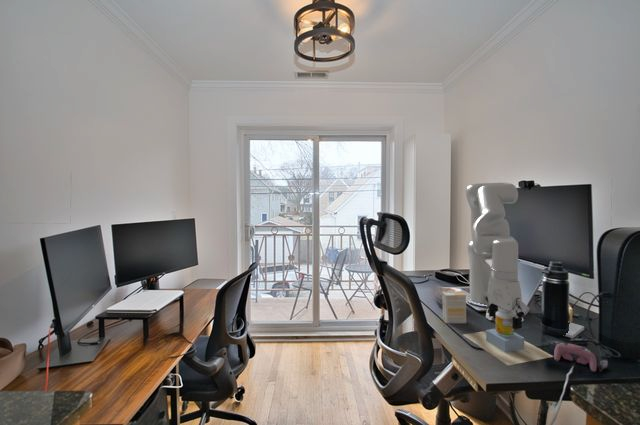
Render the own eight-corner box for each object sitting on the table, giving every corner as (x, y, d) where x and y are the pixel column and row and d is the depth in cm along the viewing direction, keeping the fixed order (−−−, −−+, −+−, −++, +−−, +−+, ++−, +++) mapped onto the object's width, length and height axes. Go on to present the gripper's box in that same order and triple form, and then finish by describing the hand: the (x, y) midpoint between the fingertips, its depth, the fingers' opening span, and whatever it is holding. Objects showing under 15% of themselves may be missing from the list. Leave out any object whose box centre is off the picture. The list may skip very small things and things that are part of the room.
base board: (501, 330, 110) (501, 328, 110) (553, 359, 90) (553, 356, 90) (462, 337, 106) (462, 334, 106) (508, 368, 86) (508, 365, 86)
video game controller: (596, 374, 84) (596, 350, 86) (596, 374, 81) (597, 349, 83) (554, 362, 91) (555, 339, 93) (553, 361, 88) (554, 338, 90)
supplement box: (461, 320, 120) (461, 290, 119) (466, 325, 115) (466, 295, 114) (442, 320, 120) (441, 290, 120) (446, 325, 116) (445, 294, 115)
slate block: (504, 337, 103) (504, 327, 102) (524, 349, 95) (524, 337, 95) (485, 340, 101) (485, 330, 101) (504, 352, 93) (504, 341, 93)
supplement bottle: (493, 329, 101) (493, 303, 101) (510, 330, 99) (511, 304, 99) (497, 336, 96) (497, 309, 96) (515, 338, 94) (516, 310, 94)
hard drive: (558, 319, 116) (545, 326, 109) (584, 326, 109) (572, 335, 102) (558, 322, 116) (545, 331, 109) (584, 330, 109) (572, 339, 102)
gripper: (476, 269, 104) (476, 313, 105) (518, 282, 87) (518, 335, 88) (493, 267, 106) (493, 310, 107) (537, 280, 89) (537, 332, 90)
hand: (504, 321), depth 97 cm, fingers open, 9 cm apart
